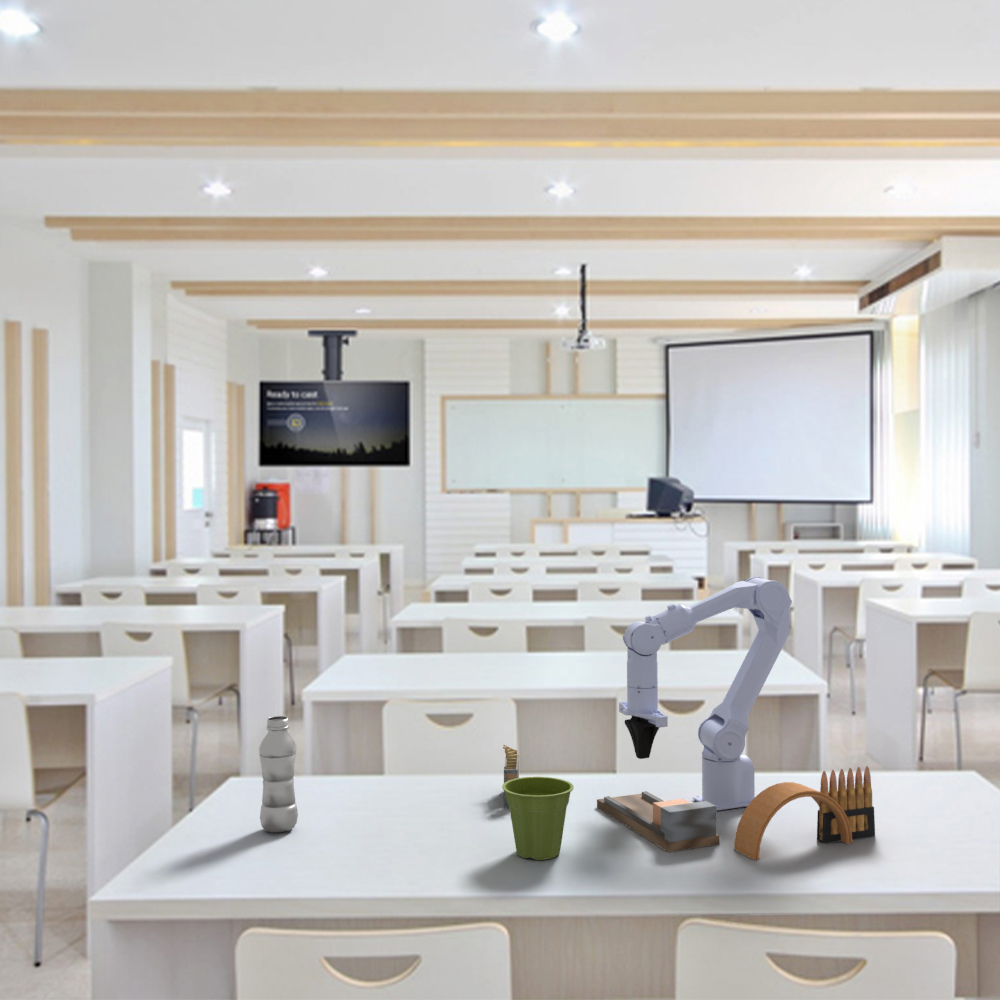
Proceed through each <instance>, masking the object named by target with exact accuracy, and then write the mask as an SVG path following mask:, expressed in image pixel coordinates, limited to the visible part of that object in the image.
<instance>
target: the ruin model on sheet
mask: <svg viewBox="0 0 1000 1000" xmlns="http://www.w3.org/2000/svg"><path fill="white" fill-rule="evenodd" d="M502 749H504V753H505V760H504V767H503V784H504V783H505V782H507V781H509V780H512V779H516V778H520V755H519V754H518V750H516V749H514V748H511V747H509V746H507V745H505V744H503V747H502ZM503 808H504V809H510V808H509V804H508V802H507V797H506V792H505V791H504V790H503Z"/></svg>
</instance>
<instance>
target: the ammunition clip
mask: <svg viewBox="0 0 1000 1000" xmlns="http://www.w3.org/2000/svg"><path fill="white" fill-rule="evenodd" d="M845 776H846V777H845ZM820 778H821V779H820V788H819V789H820V791H819V792H821V793H824V794H826V795H828V796H830V797H831V798H833V799H834V800H835V801H836V802H837V803H838V804H839V805H840V806H841V807H842V809H843V810H844V812H845V814H846V816H847V818H848V821H849V823H850V827H851V832H852V840H858V839H865V838H874V837H876V823H875V807H874V806H873V789H872V778H871V770H870V767H869V766H868V765H865V768H864V773H863V775H862V770H861V768H860V766H858V767H857V768H856V771H855V777H854V772H853V770H852V768H851V767H849V768H848V770H847V775H846V774H845V772H844V769H843V768H840V770H839V774H838V781H837V775H836V772H835V770H834V769H831V772H830V776H829V782H828V776H827V773H826V770H823V771H822V773H821V777H820ZM854 778H855V779H854ZM816 821H817V823H816V824H817V826H816V840H817V841H818V842H820V843H822V844H828V843H836V842H837V843H838V842H842V841H841V835H840V834H839V830H838V823H837V820H836V817H835V815H834V813H833V812H830V811H829V807H828V806H827V805H826V804H825V803H824V802H822V801H819V806H818V809H817V820H816Z"/></svg>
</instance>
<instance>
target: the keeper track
mask: <svg viewBox="0 0 1000 1000" xmlns="http://www.w3.org/2000/svg"><path fill="white" fill-rule="evenodd" d="M662 801H664V800H663V799H661V798H659V797H658V796H655V795H654V794H652V793H650V792H648V791H647V790H646V791H641V793H635V794H628V795H621V796H614V797H613V796H610V795H608V796H604V797H603V798H598V799H596V807H597V809H599V810H600V809H601V811H602V812H603V813H605V814H607V815H608V816H610V817H612V818H613V819H615V820H616V821H618V822H620V823H621V824H623V825H624V826H626V827H628V828H629V829H631V830H632V831H634V832H635V833H637V834H639V835H640V836H642V837H643V838H645V839H647V840H649V841H650V842H651V843H654V844H655V845H656V846H658V847H659V848H661V849H662V850H664V851H665V852H667V853H672V852H673V853H674V852H678V851H684V850H692V849H697V848H703V847H709V846H716V845H721V844H720V842H721V838H720V834H718V833H717V811H716V805H714V804H712V803H710V802H708V801H702V802H697V801H695V802H690V803H688V804H681V805H673V806H666V807H661V827H660V826H658V825H657V824H655V823H653V803H654V802H662Z"/></svg>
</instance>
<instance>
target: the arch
mask: <svg viewBox="0 0 1000 1000" xmlns="http://www.w3.org/2000/svg"><path fill="white" fill-rule="evenodd" d="M808 797H809V798H811V799H812V800H813V801H815V803H816V804H817V806H818V807H819V801H822V802H824V803H825V804H826V805H827V806H828V807H829V811H830V812H833V813H834V815H835V817H836V820H837V823H838V830H839V834H840V835H841V841H840V842H842V843H845V844H847V845H849V844H853V839H852V832H851V827H850V823H849V821H848V818H847V816H846V814H845V812H844V810H843V809H842V807H841V806H840V805H839V804H838V803H837V802H836V801H835V800H834V799H833V798H831V797H830V796H828V795H826V794H824V793H821V792H820V791H818V790H816V789H814V788H811V787H808V786H806V785H803V784H802V783H801V784H800V783H797V782H793V781H791V782H790V781H789V782H788V781H785V782H779V783H775V784H772V785H770V786H768V787H766V788H765V789H763V790H761V792H760V793H758V794H756V795H755V798H754V799H753V800H752V801H751V802H750V804H749V805H748V806H746V808H745V810H744V811H743V813H742V815H741V817H740V820H739V821H738V824H737V828H736V831H735V834H734V835H735V836H734V843H733V846H734V847H733V849H734V850H735V851H737V852H738V853H741V854H743V855H744V856H746V857H748V858H750V859H752V860H753V861H756V860H758V861H759V860H760V849H761V844H762V839H763V837H764V834H765V831H766V829H767V827H768V825H769V823H770V822H771V820H772V819H773V817H774V816H775V815H776V814H777V812H779V810H781V809H782V808H783V807H784V806H785V805H787V804H789V803H790V802H792V801H795V800H797V799H800V798H801V799H802V798H808Z"/></svg>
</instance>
